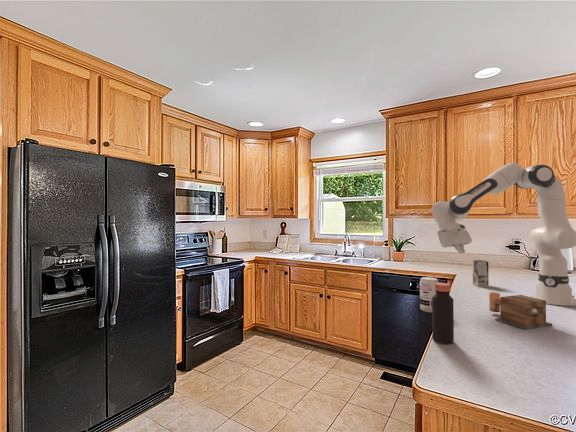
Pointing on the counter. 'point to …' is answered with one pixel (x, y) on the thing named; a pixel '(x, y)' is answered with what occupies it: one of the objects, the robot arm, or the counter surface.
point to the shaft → (495, 303)
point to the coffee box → (480, 273)
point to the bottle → (442, 314)
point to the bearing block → (522, 312)
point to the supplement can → (427, 293)
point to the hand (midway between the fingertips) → (462, 252)
